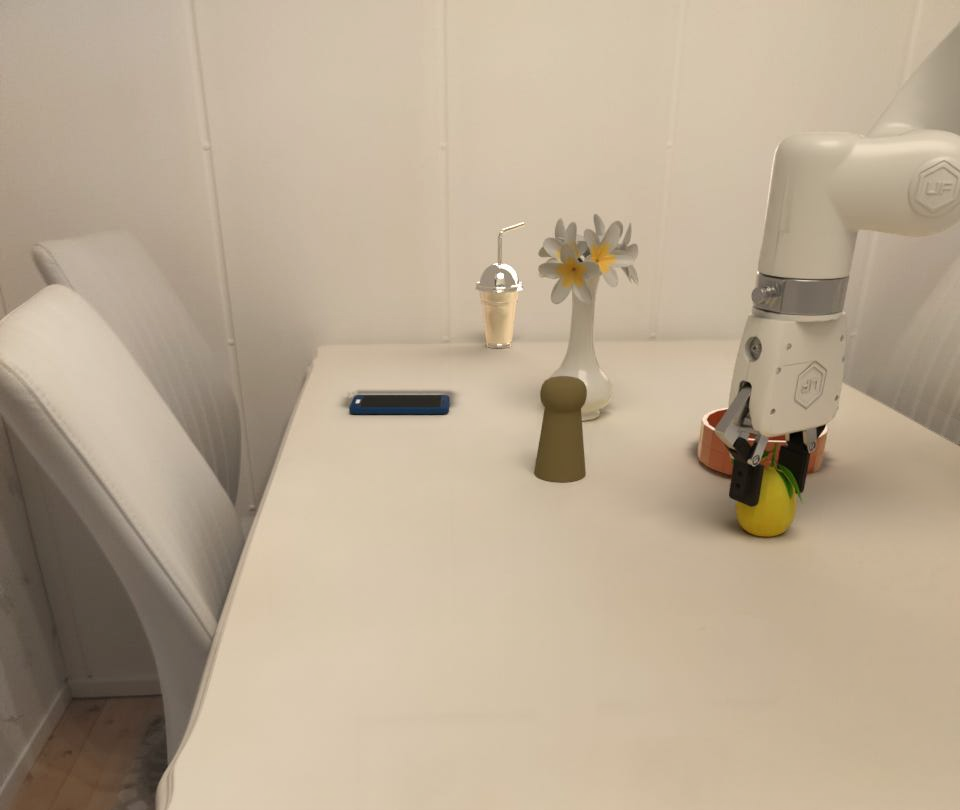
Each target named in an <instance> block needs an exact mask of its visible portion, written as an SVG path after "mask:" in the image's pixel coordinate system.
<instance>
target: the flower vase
mask: <svg viewBox="0 0 960 810" xmlns="http://www.w3.org/2000/svg"><path fill="white" fill-rule="evenodd" d="M555 223H556V224H555V227H554V237H546V238H545V239H544V241H543V242H542V246H541V247H540V248H539V250H538V253H537V254H538V256H539V257H540V258H549V259H547V260H546V261H545V262H542V263H541V264H539V266H538V277H539V278H542V279H543V278H547V279H551V280H557V281H556V282H555V284H554V286H553V287H552V289H551V293H550V301H551V303H552V304H554V305H559V304H561V303H563V302H564V301H565V300H566V299H567V297H568V296H569V295H570V293H571V302H572V303H571V305H572V306H571V317H570V327H569V328H570V331H569V338H568V344H567V349H566V352H565V355H564V356H563V357H564V358H563V359H562V361H561V364H560V365H559V366H558V368H556V369H555V370H554V371H553V372H552V373H551V375H550V376H549V378H551V377H557V376H570V377H575V378H578V379H580V380H582V381H583V382H584V384H585V386H586V389H587V397H586V401H585V404H584V405H583V407H582V408H581V416H582V422H585V421H592V420H596V419H598V418H599V416H600V415H601V411H600V410H601V409H603V408H605V407H606V406H607V405H608V404H609V403H610V401H611V399H612V397H613V395H614V388H613V384H612V382H611V380H610V377H609V376H608V375H607V373H606V372H605V371H604V370H603V369H602V367H601V366H600V364H599V361H598V358H597V354H596V350H595V332H594V331H595V308H596V306H595V305H596V299H597V298H596V296H597V293H598V287H599V284H600V280H601V277H603V279H604V280H605V282H606V284H607V285H609V287H611V288H616V287H617V286H618V284H619V276H618V272H617V270H616V269H615V268H620V269H621V270H622V271H623V272H624V275H625V276H626V277H627V280H628V281H629V282H630V284H631V283H633V282H634V284H635V285H638V286H639V277H638V274H637V271H636V268H635V267H634V264H635V262H636V259H637V258H638V255H639V246H638V243H631V244H630V242H631V239H632V228H633V227H632V222H629V223H628V226H627V229H626V232H625V234H624V236H623V239H622V242H620V240H621V237H622V235H623V233H624V225H623V223H622V222H621V221H620V220H615V221H613V222H612V223H611V224H610V225H609V226H608V227H607V229H606V226H605V223H604V220H603V219H602V217H601V216H600V215H599V214H597V213H593V224H594V229H595V231H594V230H593V229H591V228H585V229H584V231H583V235H582V234H578V226H577V223H576V222H575V220H571V222H570V223H569V224H568V226H567V227H566V226H565V222H564V219H563V218H561V217H560V218H559V219H557V221H556V222H555ZM619 242H620V243H619ZM582 256H583V257H584V258H581V257H582ZM549 378H548V379H549Z"/></svg>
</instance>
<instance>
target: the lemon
mask: <svg viewBox="0 0 960 810" xmlns="http://www.w3.org/2000/svg"><path fill="white" fill-rule="evenodd" d="M777 444H778V442H776V443H775V446H774V449H773V450H772V451H769V452H768V451H766V450H764V453H763V455H762V458H761V460H760V462H761V461H763V460H765V459H766V458H767V456H768V454H769V453H771V452H773V455H772V463H771V465H769V466H767V467H766V468H764V472H763V478H762V484H761V490H760V497H759V502H758V504H757V505H756V506H753V507H750V506H748V505H745V504H743V503H741V502H738V501H736V502H735V512H736V518H737V521H738V523H739V525H740V527H741V528H742V529H743V530H744V531H745V532H747V533H748V534H750V535H753V536H756V537H762V538H772V537H777V536H779V535H782V534H784V533H785V531H787V530H788V528H789V527H790V526H791V524H793V523H792V522H793V520H794V518H795V515H796V510H797V497H798V498H799V500H800V502H801V504H802V505H803V504H804V502H803V499H802V495H801V493H800V491H799V488H798V485H797V482H796V480H795V478H794V476H793V474H792V473H791V472H790V471H789V470H788V469H787V468H785V467H783V466H781V465H779V464H778V463H777V461H776V460H775V453H776V449H777ZM750 446H751V447H752V445H750ZM774 461H775V462H776V464H777V465H778V466H779V468H780V469H781V470H779V469H778V468H777V467H776V466H775V465H774ZM733 463H734V459H732V461H731V464H733ZM795 490H796V492H797V494H796V493H795Z"/></svg>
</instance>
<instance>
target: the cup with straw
mask: <svg viewBox="0 0 960 810" xmlns="http://www.w3.org/2000/svg"><path fill="white" fill-rule="evenodd" d="M524 227H526V224H525V222H520V223H517V224H514V225H511V226H508V227H505V228H502V229H500V230H499V232H498V234H497V262H496V263H492V264H490V265H488V266H487V267H486V268H485V269H484V270H483V271H482V273H481V276H480V278H479V281H477V282H475V287H474V289H475V290H476V291H479V300H480V304H481V308H482V318H483V325H484V326H483V327H484V329H483V330H484V338H485V340H486V341H485V342H486V344H485V346H486V347H488V348H491V349H507V348H511V347H512V340H513V337H514V336H513V335H514V327H515V320H516V311H517V305H518V302H519V297H520V291H523V290H524V283H523V282H522V281H520V278H519V275H518V273H517V271H516V270H515V268H513V267H512V266H511V265H509V264H507V263H502V262H503V261H502V259H503V252H502V251H503V235H504V234H506V233H509V232H512V231H515V230H518V229H521V228H524Z"/></svg>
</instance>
